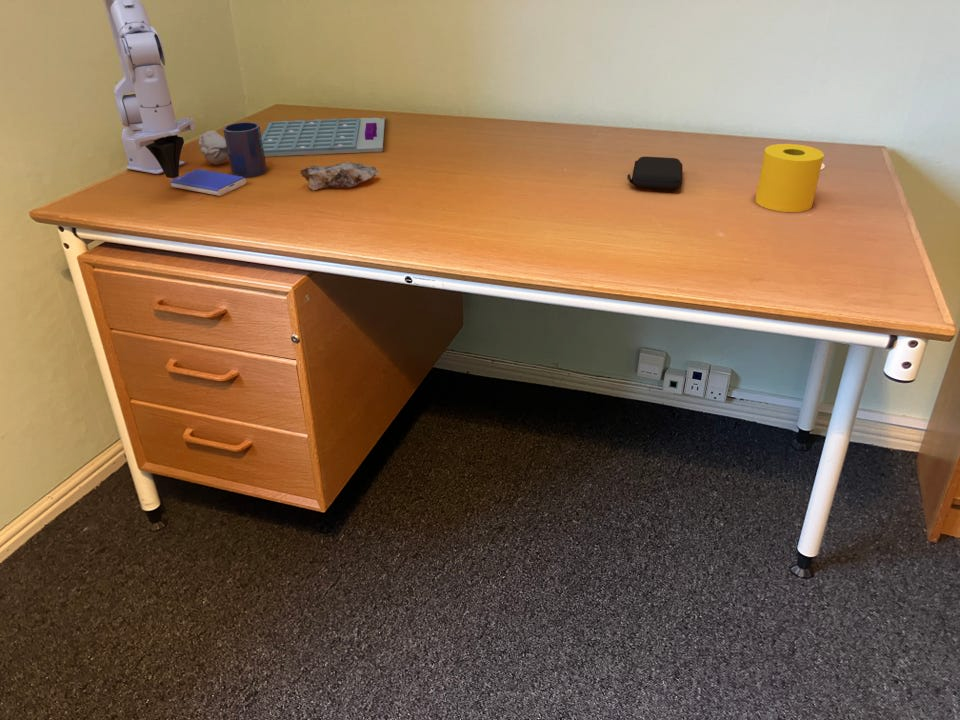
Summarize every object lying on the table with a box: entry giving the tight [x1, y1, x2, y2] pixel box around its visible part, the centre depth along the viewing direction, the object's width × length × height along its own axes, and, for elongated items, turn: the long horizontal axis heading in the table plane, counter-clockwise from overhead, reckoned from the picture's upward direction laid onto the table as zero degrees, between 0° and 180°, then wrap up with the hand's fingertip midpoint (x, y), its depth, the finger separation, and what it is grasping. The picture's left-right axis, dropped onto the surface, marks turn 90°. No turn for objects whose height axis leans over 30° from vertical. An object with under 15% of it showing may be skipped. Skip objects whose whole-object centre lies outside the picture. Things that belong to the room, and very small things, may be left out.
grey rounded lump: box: [198, 130, 229, 166], centre depth 163 cm, size 6×7×7 cm
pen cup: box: [222, 121, 268, 178], centre depth 157 cm, size 7×7×10 cm
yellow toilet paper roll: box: [755, 143, 825, 213], centre depth 138 cm, size 10×10×9 cm
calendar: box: [261, 116, 386, 158], centre depth 180 cm, size 27×29×2 cm
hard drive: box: [170, 168, 247, 197], centre depth 152 cm, size 2×8×12 cm
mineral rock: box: [300, 161, 380, 192], centre depth 151 cm, size 15×8×4 cm, turn 92°
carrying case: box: [626, 156, 684, 193], centre depth 151 cm, size 11×3×15 cm
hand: (172, 176), depth 144 cm, fingers closed
